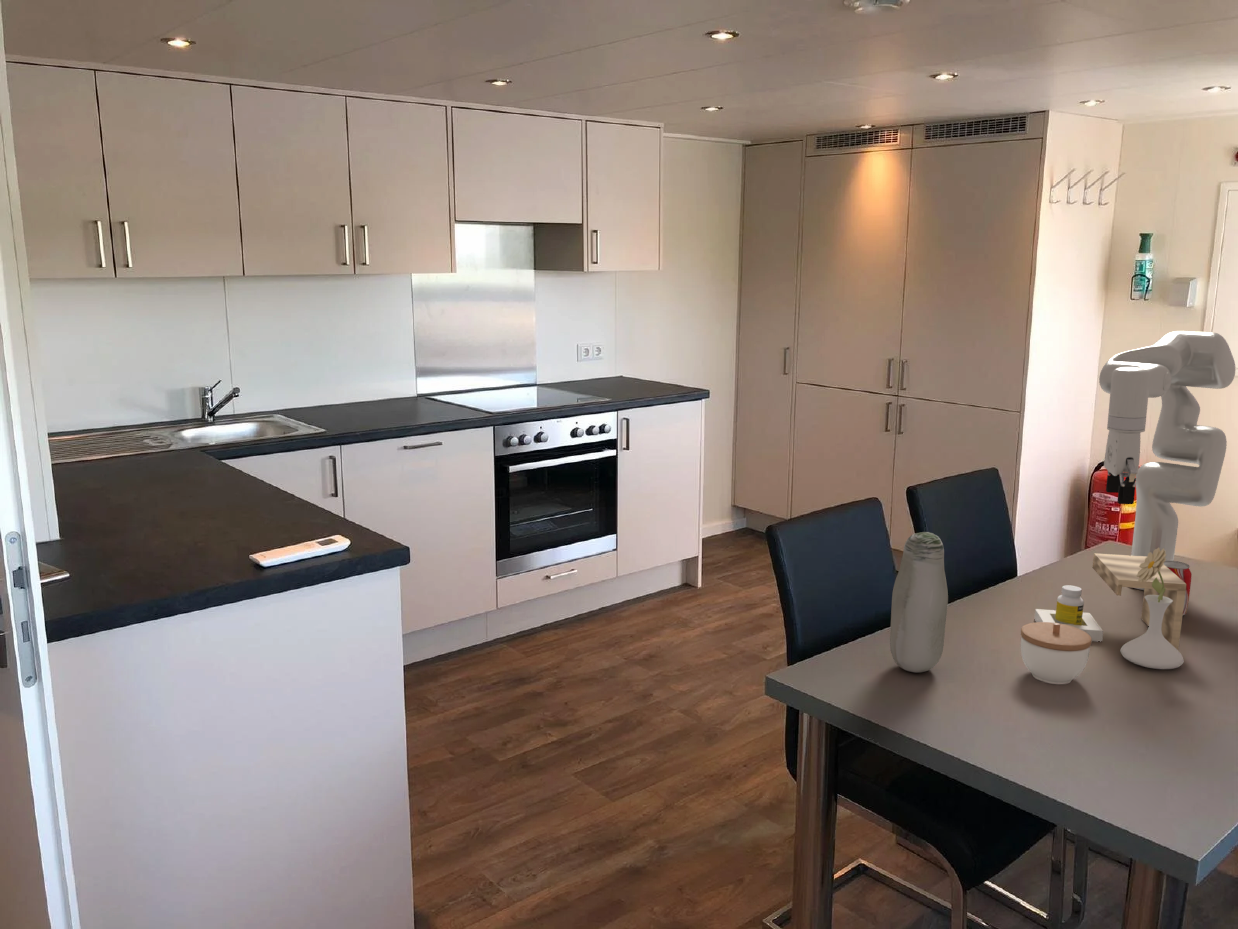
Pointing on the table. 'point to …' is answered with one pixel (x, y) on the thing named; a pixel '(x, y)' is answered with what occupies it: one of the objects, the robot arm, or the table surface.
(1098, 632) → the socket block
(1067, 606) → the supplement bottle
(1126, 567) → the small wooden stool
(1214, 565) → the table surface
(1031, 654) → the lidded bowl
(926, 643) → the grey bottle
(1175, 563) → the soda can
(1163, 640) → the flower in vase
